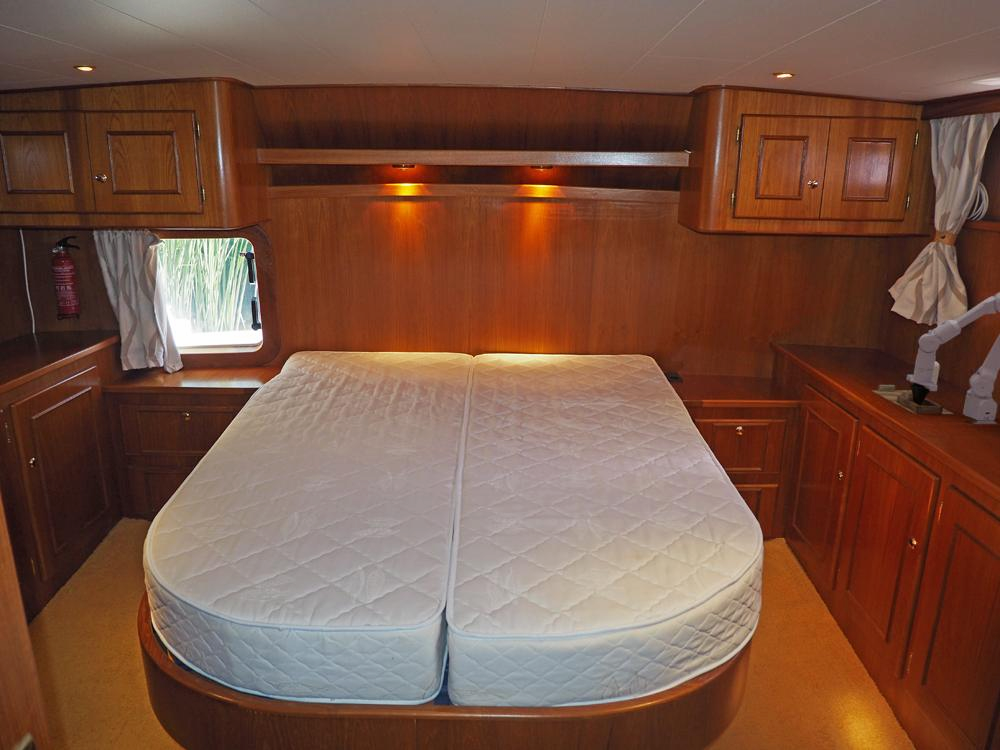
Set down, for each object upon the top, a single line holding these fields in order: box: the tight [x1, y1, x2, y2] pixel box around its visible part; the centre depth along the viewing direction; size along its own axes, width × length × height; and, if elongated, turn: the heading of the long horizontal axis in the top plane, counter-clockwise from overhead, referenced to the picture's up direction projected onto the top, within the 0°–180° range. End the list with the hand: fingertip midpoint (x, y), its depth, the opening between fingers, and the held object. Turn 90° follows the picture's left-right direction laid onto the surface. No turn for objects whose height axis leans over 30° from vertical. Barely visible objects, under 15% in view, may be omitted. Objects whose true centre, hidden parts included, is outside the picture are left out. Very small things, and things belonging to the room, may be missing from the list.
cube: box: [901, 390, 914, 402], centre depth 257 cm, size 4×4×4 cm
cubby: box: [897, 396, 944, 415], centre depth 252 cm, size 13×8×2 cm, turn 2°
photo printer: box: [932, 360, 940, 386], centre depth 275 cm, size 10×4×12 cm, turn 125°
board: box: [870, 384, 954, 415], centre depth 259 cm, size 28×14×4 cm, turn 2°
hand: (917, 404), depth 252 cm, fingers closed
